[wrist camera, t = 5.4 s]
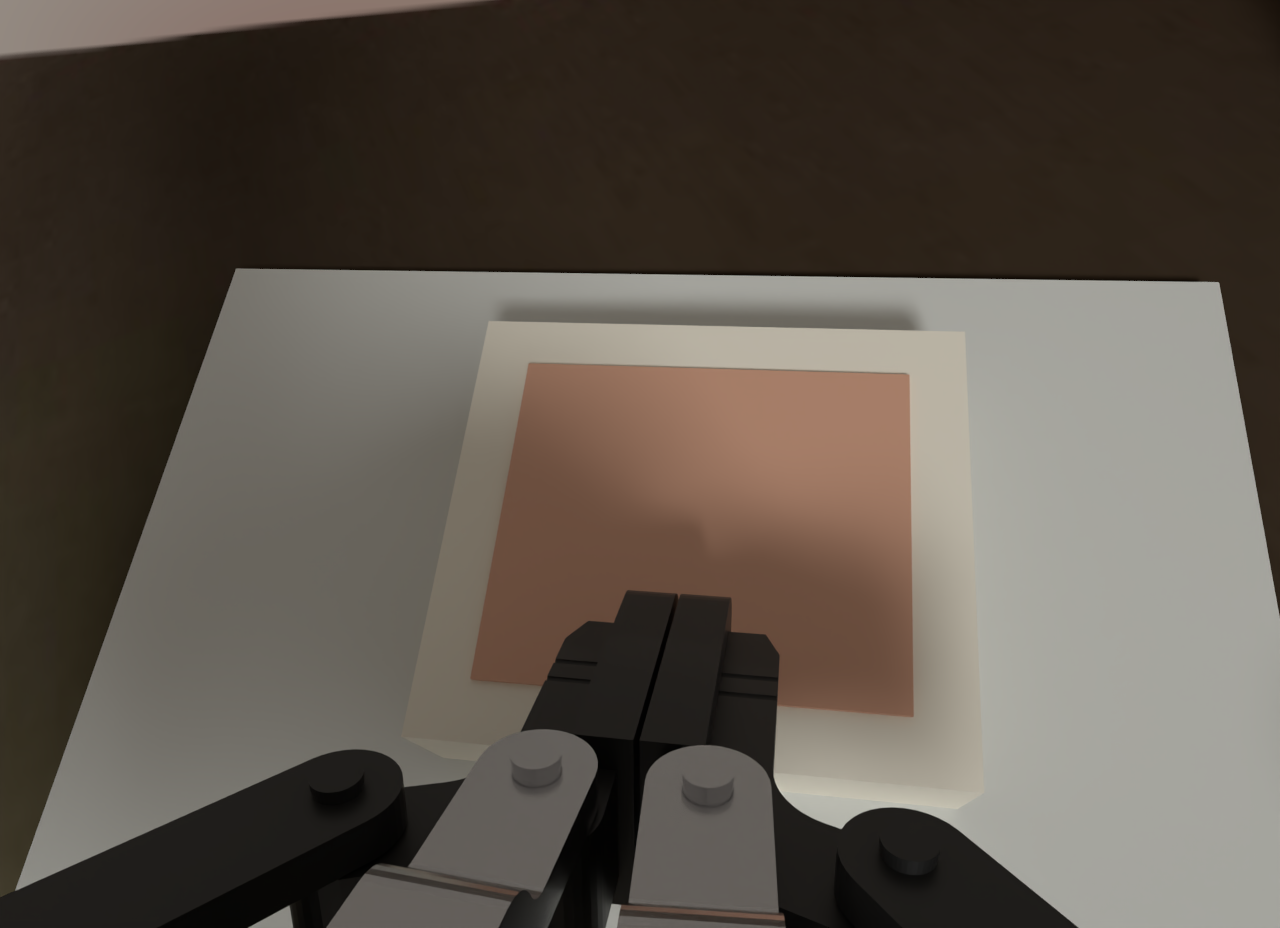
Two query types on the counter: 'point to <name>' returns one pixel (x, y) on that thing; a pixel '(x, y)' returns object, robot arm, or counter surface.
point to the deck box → (723, 535)
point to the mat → (995, 821)
